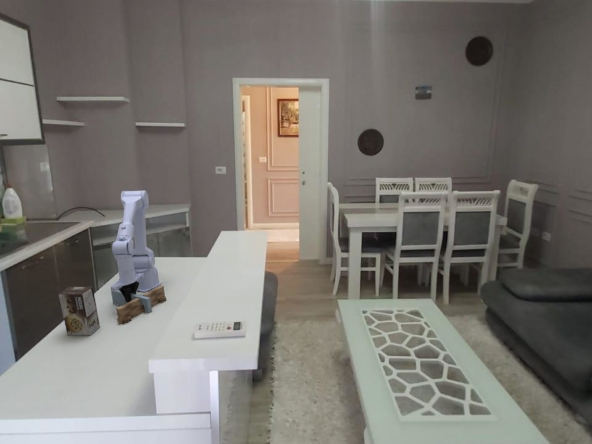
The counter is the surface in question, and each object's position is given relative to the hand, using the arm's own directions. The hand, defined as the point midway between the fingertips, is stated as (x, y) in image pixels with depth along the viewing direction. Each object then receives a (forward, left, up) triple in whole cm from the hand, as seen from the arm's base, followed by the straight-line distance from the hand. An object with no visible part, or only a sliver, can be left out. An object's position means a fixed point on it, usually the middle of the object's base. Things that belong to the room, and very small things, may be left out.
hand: (130, 300), depth 155 cm
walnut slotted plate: (0, +6, -3) cm, 7 cm away
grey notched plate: (0, 0, -3) cm, 3 cm away
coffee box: (+20, -2, -3) cm, 20 cm away
